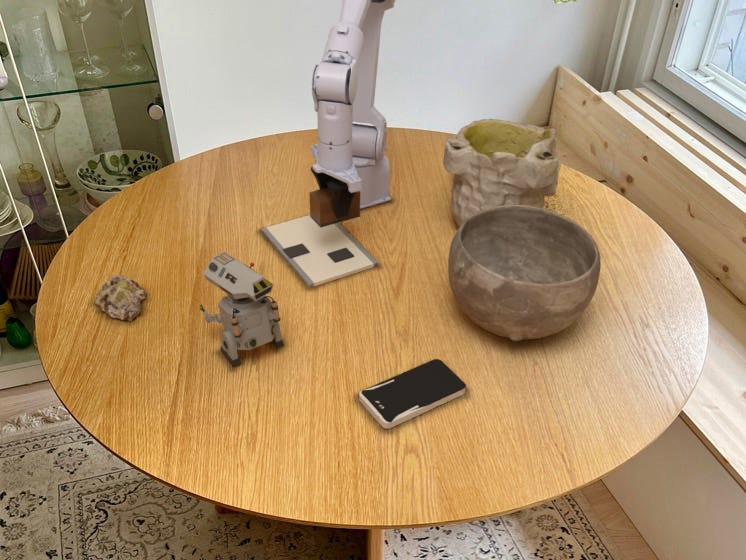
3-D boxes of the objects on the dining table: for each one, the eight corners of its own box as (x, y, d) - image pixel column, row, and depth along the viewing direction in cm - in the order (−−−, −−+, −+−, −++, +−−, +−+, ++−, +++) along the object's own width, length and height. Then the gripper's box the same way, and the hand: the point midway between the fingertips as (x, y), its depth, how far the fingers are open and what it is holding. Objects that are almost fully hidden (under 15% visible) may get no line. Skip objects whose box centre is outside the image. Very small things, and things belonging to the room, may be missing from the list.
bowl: (491, 382, 116) (505, 305, 105) (413, 294, 131) (419, 219, 120) (613, 337, 124) (637, 262, 113) (527, 260, 139) (542, 187, 129)
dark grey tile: (302, 244, 139) (302, 243, 139) (309, 252, 137) (309, 251, 137) (282, 250, 137) (282, 248, 137) (290, 258, 136) (290, 257, 135)
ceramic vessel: (429, 140, 154) (521, 54, 137) (508, 223, 161) (604, 151, 144) (396, 191, 138) (495, 101, 122) (484, 281, 145) (590, 208, 128)
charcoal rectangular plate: (346, 248, 139) (346, 247, 138) (354, 257, 137) (354, 255, 136) (327, 254, 137) (327, 253, 137) (334, 263, 135) (334, 261, 135)
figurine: (253, 314, 125) (245, 237, 115) (288, 352, 119) (283, 275, 108) (203, 333, 121) (190, 256, 111) (236, 374, 115) (226, 296, 104)
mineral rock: (85, 281, 126) (129, 260, 127) (98, 299, 130) (140, 278, 131) (98, 320, 120) (144, 298, 121) (111, 338, 123) (156, 316, 124)
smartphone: (468, 386, 113) (385, 424, 107) (467, 393, 114) (385, 431, 108) (438, 357, 117) (357, 392, 111) (437, 363, 118) (356, 398, 112)
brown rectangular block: (349, 206, 137) (349, 181, 134) (360, 216, 135) (360, 191, 131) (310, 217, 134) (309, 192, 131) (320, 227, 132) (319, 202, 128)
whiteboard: (326, 213, 148) (326, 209, 148) (378, 266, 136) (378, 262, 136) (261, 232, 143) (260, 228, 142) (309, 288, 131) (309, 284, 130)
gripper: (294, 124, 127) (297, 196, 136) (334, 161, 118) (335, 235, 128) (330, 116, 130) (331, 187, 139) (373, 152, 121) (371, 225, 130)
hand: (335, 209), depth 134 cm, fingers closed on brown rectangular block, 4 cm apart
